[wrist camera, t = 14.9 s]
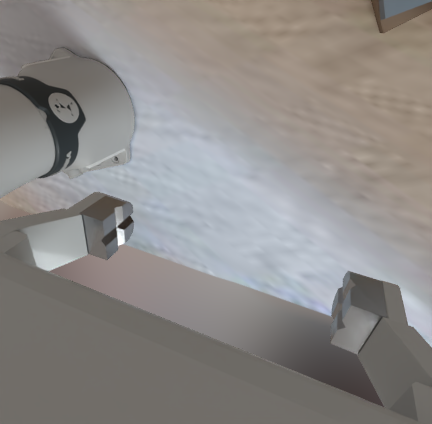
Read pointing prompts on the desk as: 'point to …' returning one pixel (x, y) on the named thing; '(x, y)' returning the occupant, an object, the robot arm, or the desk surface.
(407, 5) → the slate-grey upper block
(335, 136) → the desk surface
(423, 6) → the walnut base block
